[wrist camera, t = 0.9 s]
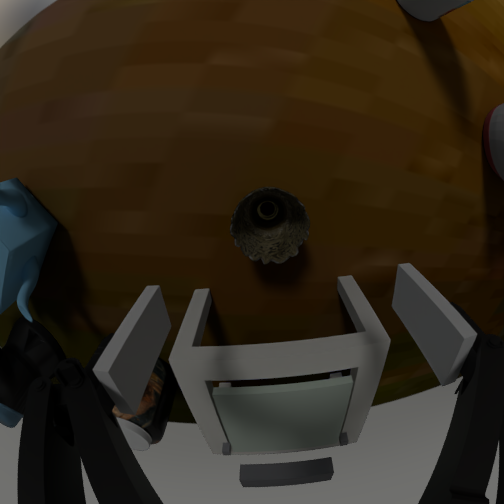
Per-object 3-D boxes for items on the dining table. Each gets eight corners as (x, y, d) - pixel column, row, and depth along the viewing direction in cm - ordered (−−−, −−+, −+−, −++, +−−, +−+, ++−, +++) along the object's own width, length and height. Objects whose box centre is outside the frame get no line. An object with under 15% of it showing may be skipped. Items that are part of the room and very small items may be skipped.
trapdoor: (328, 463, 34) (330, 479, 30) (243, 470, 34) (242, 486, 31) (350, 375, 24) (359, 400, 21) (213, 387, 25) (209, 414, 22)
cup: (257, 166, 31) (257, 173, 24) (309, 198, 32) (325, 215, 25) (225, 218, 33) (216, 241, 26) (276, 248, 35) (281, 277, 27)
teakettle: (18, 277, 38) (-28, 316, 24) (-5, 183, 31) (-62, 206, 17) (83, 277, 37) (30, 331, 24) (59, 159, 30) (-16, 178, 17)
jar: (191, 387, 46) (176, 454, 32) (147, 397, 48) (127, 455, 34) (152, 344, 42) (121, 414, 28) (109, 359, 44) (78, 417, 30)
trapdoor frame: (221, 389, 45) (212, 462, 31) (195, 289, 37) (164, 371, 23) (339, 379, 44) (358, 450, 30) (351, 275, 36) (396, 350, 22)
